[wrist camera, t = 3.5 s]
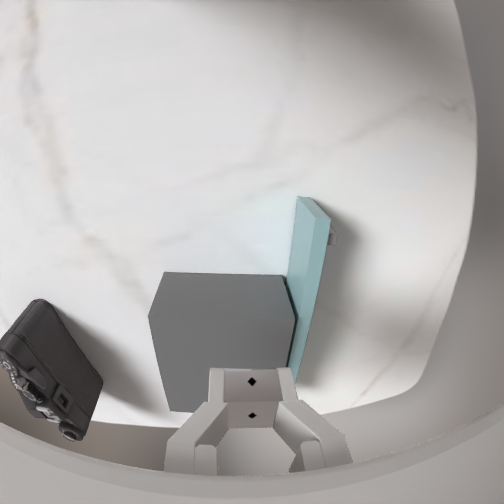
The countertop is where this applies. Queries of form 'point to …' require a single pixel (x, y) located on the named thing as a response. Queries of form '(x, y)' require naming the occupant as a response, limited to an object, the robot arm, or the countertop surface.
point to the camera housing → (216, 329)
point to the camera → (50, 370)
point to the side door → (305, 271)
